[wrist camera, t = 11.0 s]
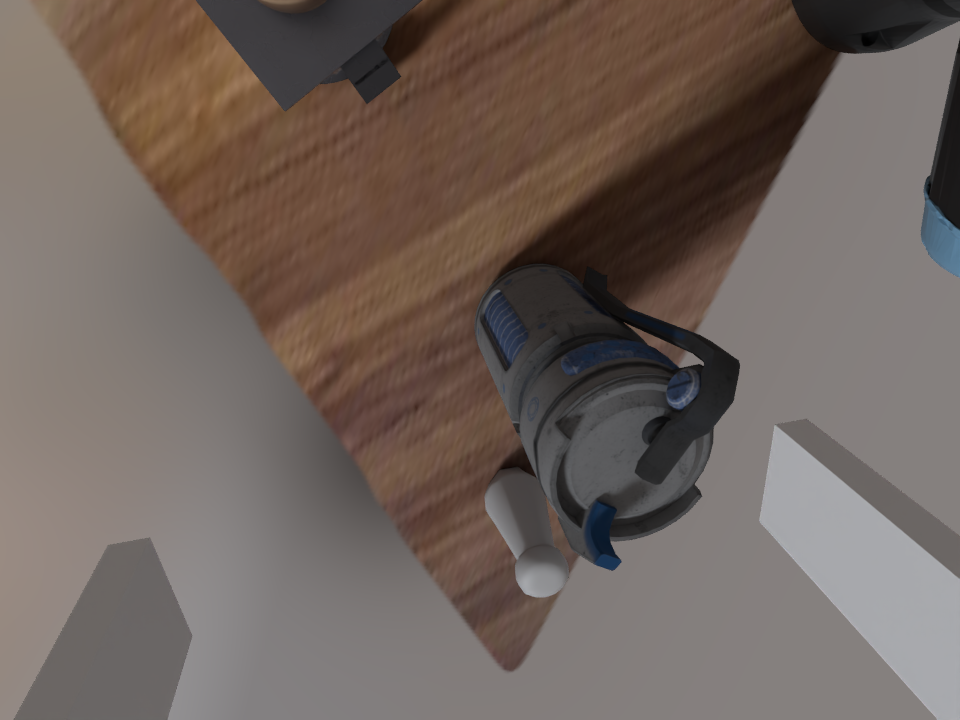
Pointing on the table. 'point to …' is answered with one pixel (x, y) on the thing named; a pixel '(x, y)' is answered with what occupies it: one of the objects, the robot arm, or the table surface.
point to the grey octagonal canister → (312, 44)
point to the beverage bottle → (602, 403)
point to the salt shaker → (527, 531)
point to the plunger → (292, 5)
